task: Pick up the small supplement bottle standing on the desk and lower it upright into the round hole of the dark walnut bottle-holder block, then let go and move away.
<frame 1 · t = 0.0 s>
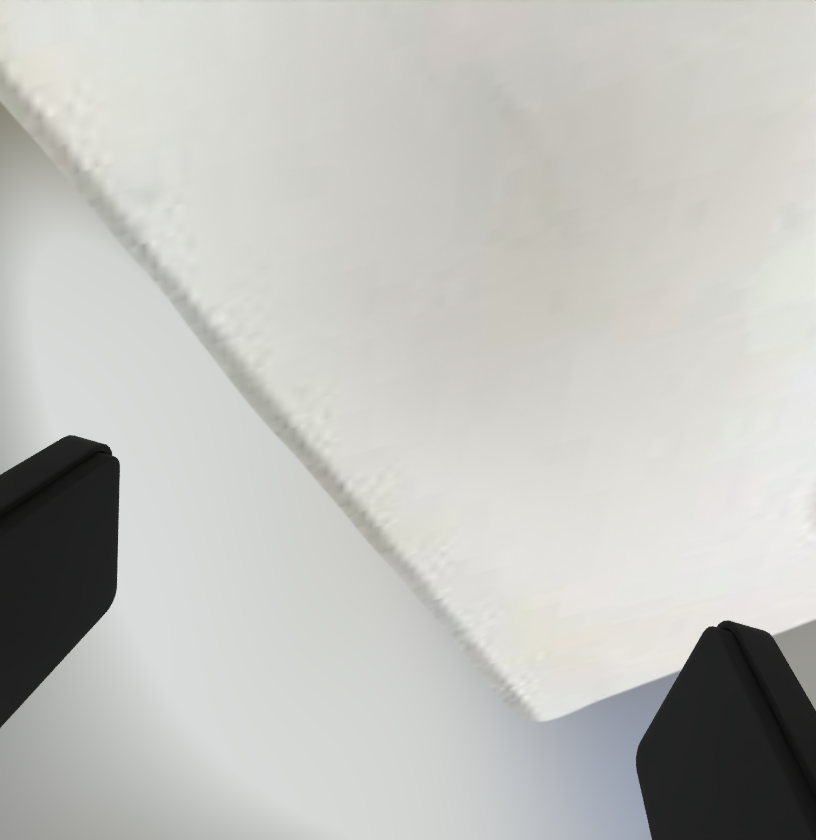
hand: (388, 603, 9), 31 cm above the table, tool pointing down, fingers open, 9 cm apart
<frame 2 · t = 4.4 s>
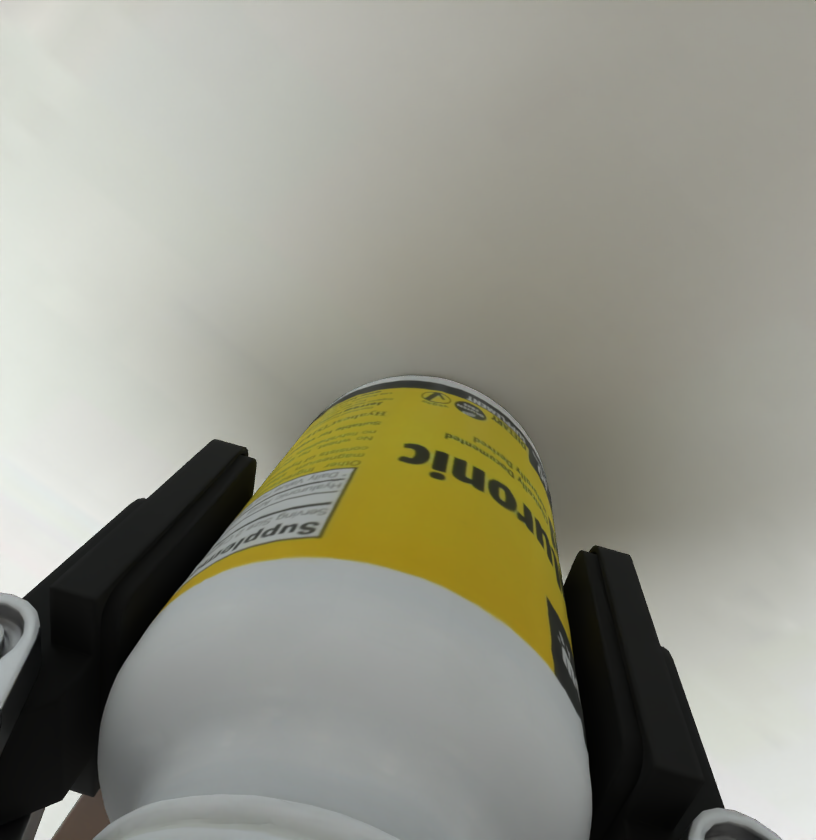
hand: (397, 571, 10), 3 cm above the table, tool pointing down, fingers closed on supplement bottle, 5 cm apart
supplement bottle: (421, 481, 13), on the table, touching gripper
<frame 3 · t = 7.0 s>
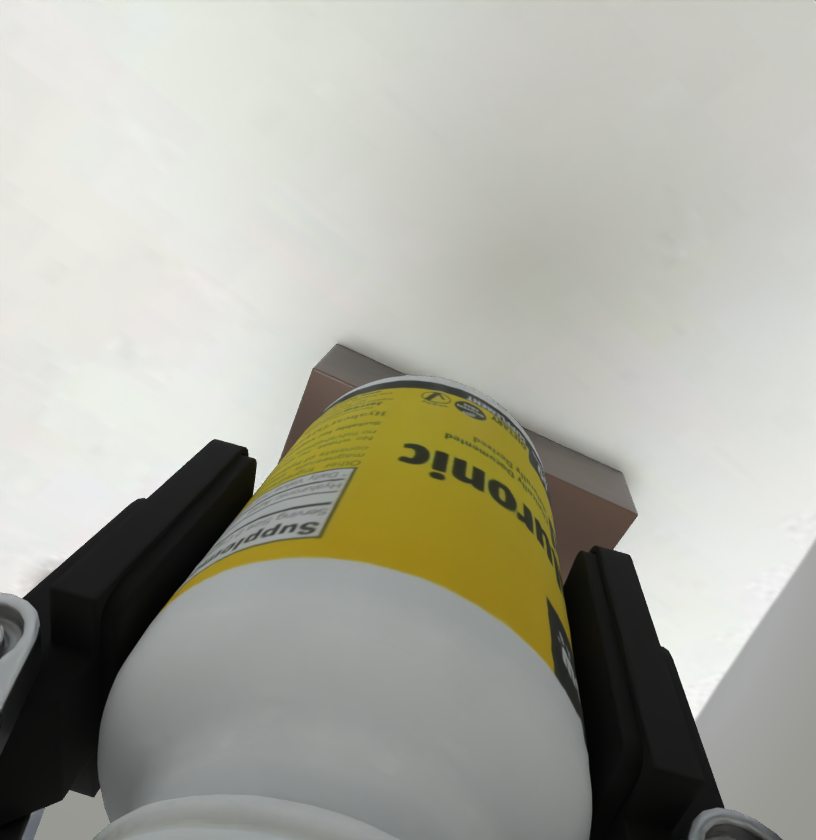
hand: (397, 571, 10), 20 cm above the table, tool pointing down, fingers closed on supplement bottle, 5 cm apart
supplement bottle: (421, 481, 13), point 17 cm above the table, touching gripper
holder block: (412, 539, 33), on the table
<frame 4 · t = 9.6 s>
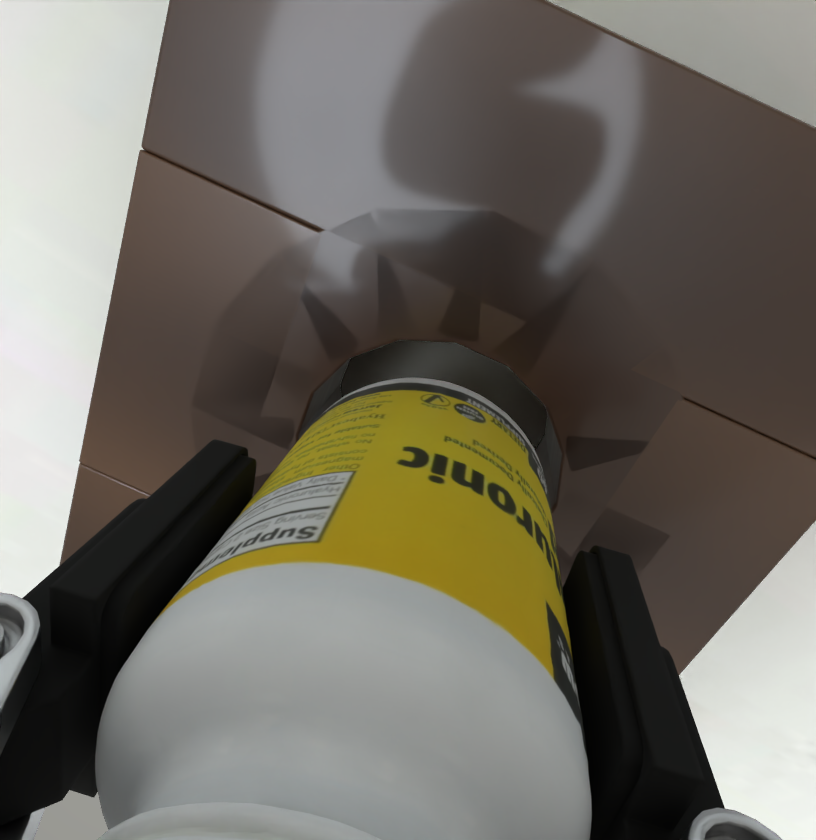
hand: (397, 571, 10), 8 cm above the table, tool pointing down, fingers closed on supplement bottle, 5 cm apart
supplement bottle: (421, 483, 13), point 5 cm above the table, touching gripper
holder block: (442, 406, 17), on the table
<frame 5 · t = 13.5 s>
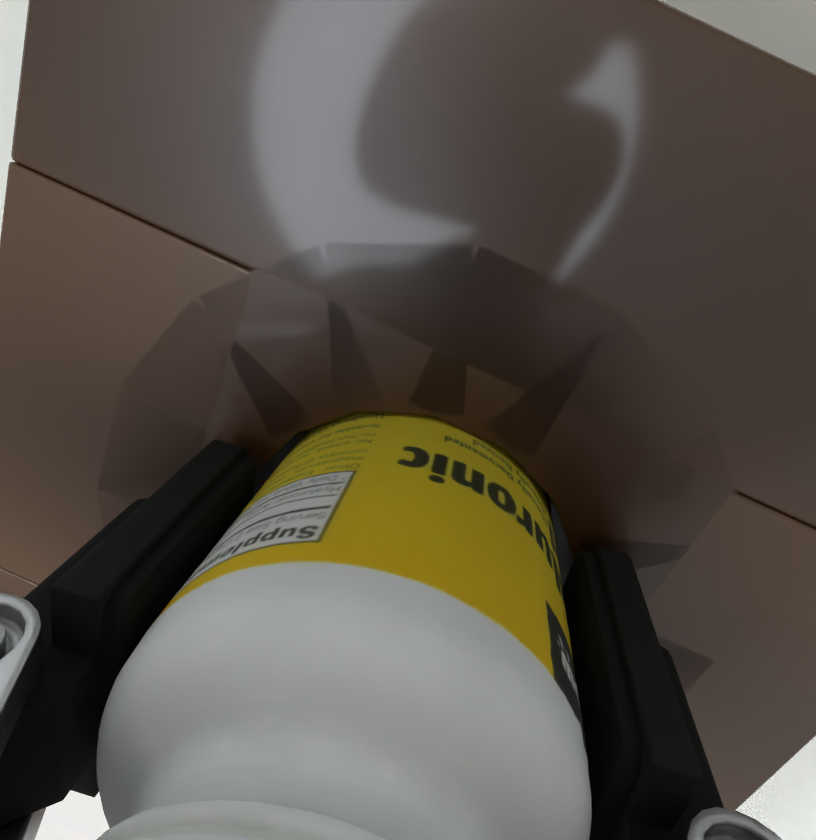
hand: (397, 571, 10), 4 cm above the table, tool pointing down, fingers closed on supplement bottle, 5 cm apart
supplement bottle: (421, 483, 13), point 1 cm above the table, touching gripper
holder block: (424, 471, 14), on the table
when the fingers open (5 cm above the table, at t = 14.8 s): supplement bottle drops 2 cm, resting in holder block.
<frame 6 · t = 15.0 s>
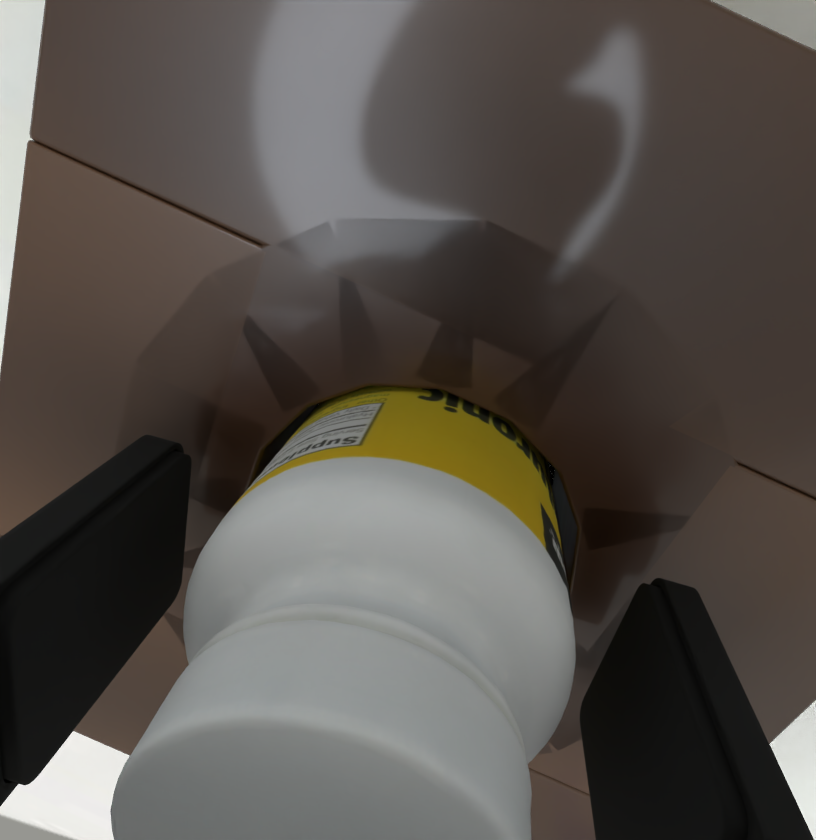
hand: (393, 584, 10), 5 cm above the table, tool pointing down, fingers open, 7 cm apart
supplement bottle: (431, 438, 14), resting in holder block
holder block: (430, 450, 14), on the table
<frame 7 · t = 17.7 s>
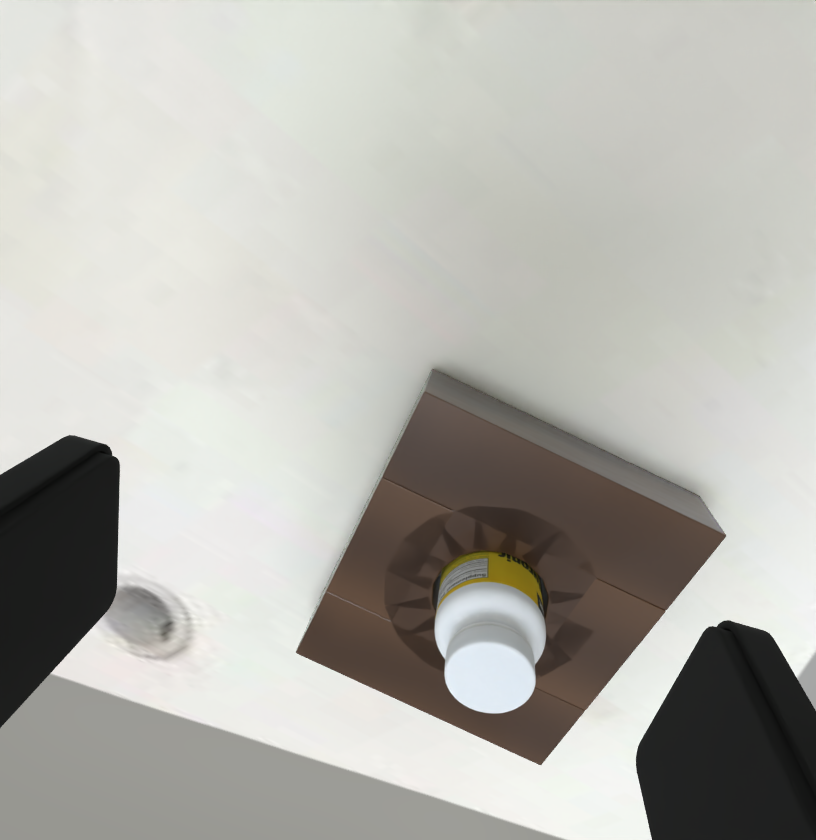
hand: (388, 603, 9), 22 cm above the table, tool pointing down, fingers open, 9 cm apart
supplement bottle: (490, 552, 35), resting in holder block
holder block: (489, 557, 35), on the table
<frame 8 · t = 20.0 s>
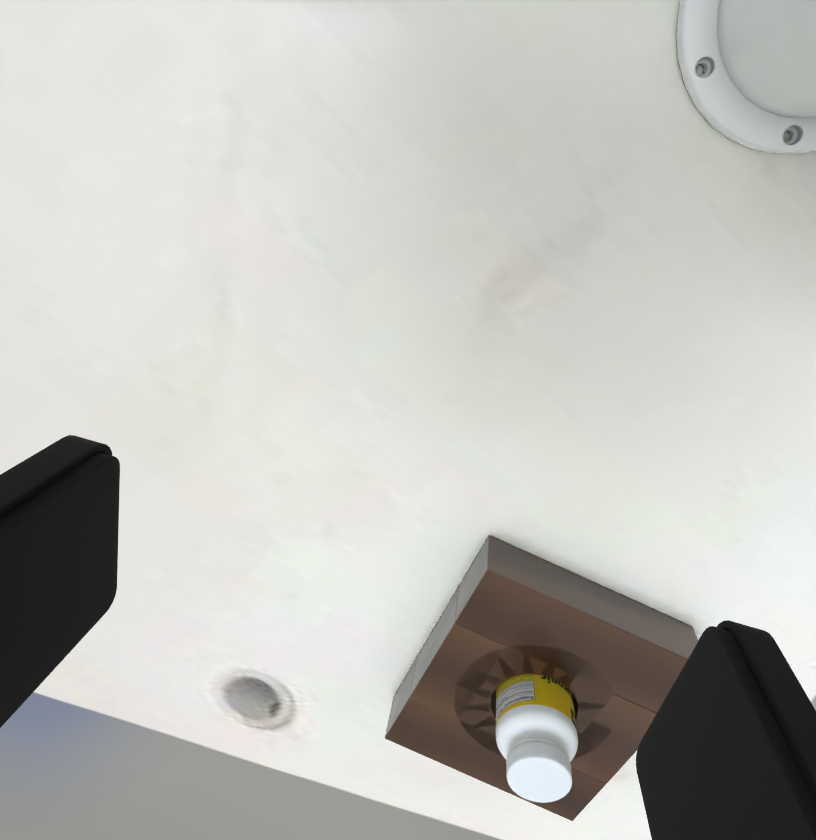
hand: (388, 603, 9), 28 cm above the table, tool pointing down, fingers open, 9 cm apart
supplement bottle: (531, 660, 45), resting in holder block
holder block: (531, 664, 45), on the table
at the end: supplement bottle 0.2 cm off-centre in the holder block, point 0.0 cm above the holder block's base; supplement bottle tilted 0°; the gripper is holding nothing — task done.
